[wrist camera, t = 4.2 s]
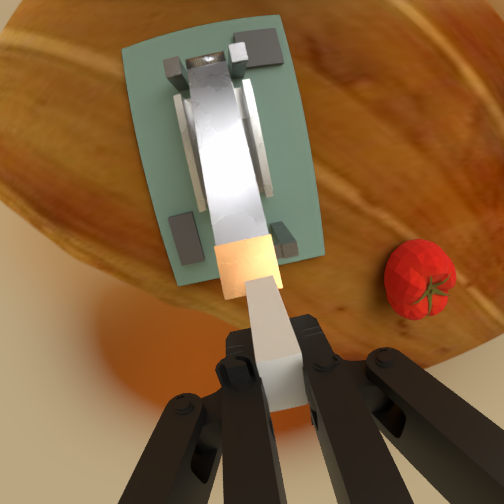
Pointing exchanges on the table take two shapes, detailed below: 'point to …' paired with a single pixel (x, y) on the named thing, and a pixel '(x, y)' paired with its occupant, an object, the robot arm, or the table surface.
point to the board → (272, 126)
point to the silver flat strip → (229, 178)
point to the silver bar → (252, 130)
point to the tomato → (418, 279)
